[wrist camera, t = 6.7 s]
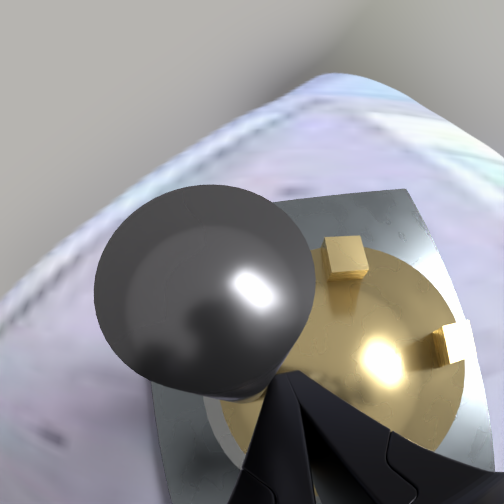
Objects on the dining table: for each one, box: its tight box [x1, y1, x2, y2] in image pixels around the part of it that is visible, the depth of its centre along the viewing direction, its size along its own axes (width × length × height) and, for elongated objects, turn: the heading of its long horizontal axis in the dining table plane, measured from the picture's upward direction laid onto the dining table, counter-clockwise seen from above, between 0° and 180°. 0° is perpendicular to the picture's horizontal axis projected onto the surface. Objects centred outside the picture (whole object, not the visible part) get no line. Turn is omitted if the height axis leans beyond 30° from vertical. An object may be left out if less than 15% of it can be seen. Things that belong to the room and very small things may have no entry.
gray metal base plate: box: [151, 189, 495, 504], centre depth 14 cm, size 24×20×2 cm
